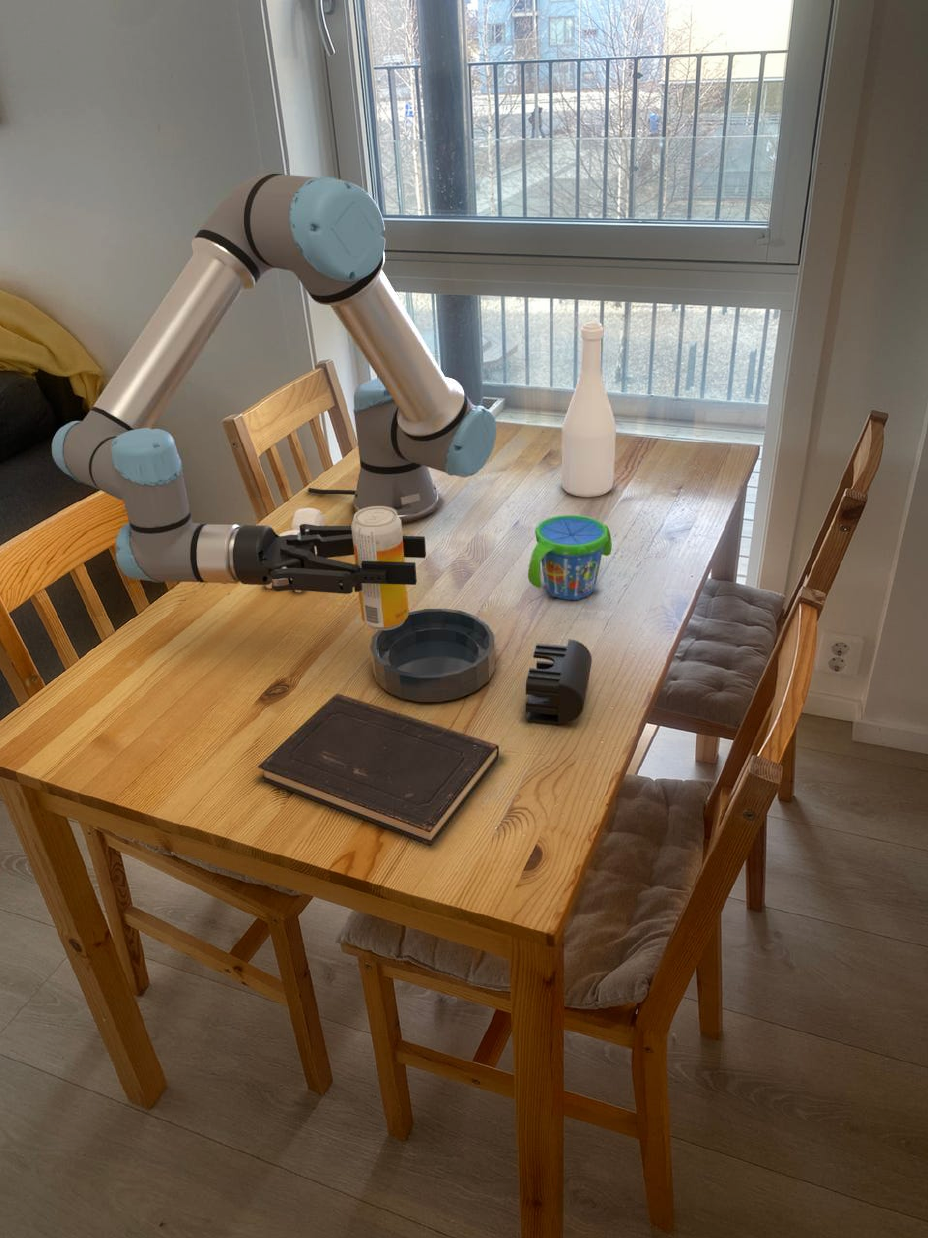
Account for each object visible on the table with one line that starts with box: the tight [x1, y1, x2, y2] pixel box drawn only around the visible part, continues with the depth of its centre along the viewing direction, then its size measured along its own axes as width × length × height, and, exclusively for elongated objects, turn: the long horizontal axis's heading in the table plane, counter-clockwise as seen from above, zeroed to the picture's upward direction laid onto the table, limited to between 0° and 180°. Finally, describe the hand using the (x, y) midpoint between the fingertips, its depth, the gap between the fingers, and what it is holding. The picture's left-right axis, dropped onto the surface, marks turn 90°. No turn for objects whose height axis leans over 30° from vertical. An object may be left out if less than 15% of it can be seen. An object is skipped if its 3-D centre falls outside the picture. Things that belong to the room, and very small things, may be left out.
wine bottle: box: [560, 321, 617, 498], centre depth 167 cm, size 10×10×30 cm
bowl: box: [370, 608, 496, 703], centre depth 127 cm, size 16×16×4 cm
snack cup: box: [527, 514, 613, 601], centre depth 141 cm, size 16×10×10 cm
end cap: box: [525, 638, 593, 726], centre depth 118 cm, size 10×7×7 cm
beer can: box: [350, 506, 410, 631], centre depth 118 cm, size 6×6×15 cm
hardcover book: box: [257, 693, 500, 846], centre depth 110 cm, size 16×23×2 cm
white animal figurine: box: [265, 507, 330, 593], centre depth 151 cm, size 9×8×15 cm
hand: (420, 560), depth 117 cm, fingers closed on beer can, 6 cm apart
